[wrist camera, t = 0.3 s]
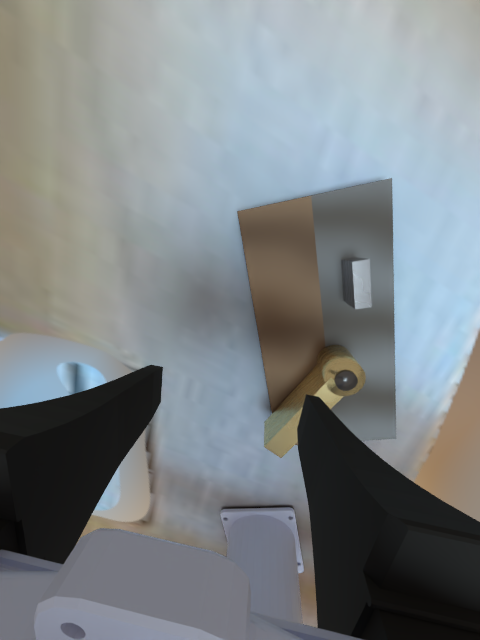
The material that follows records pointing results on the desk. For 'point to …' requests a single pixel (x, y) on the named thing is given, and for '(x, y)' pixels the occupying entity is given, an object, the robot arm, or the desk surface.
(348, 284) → the block
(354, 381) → the lock bar
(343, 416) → the board
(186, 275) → the desk surface
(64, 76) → the desk surface
